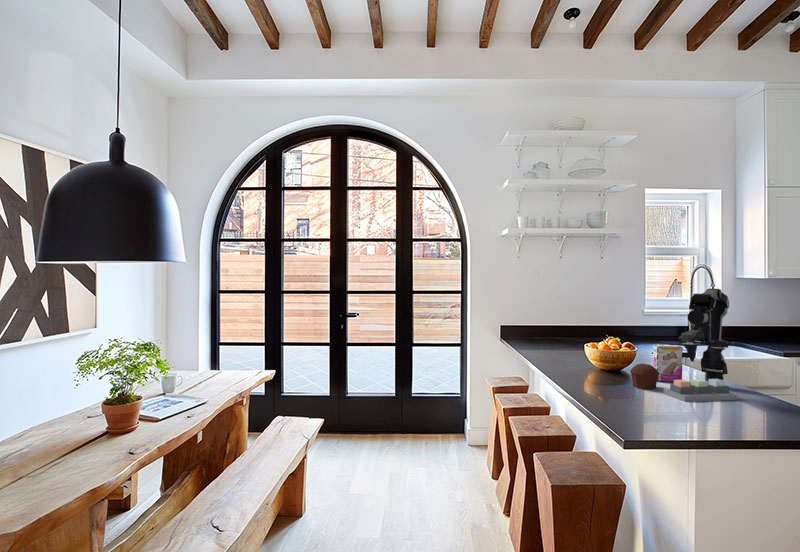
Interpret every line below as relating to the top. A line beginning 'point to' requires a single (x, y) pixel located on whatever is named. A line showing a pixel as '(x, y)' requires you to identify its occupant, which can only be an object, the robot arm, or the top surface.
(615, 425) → the top surface
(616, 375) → the top surface
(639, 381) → the muffin
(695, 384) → the sage button
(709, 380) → the slate button
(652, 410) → the top surface
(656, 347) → the candy bar box
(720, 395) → the button panel
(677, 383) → the terracotta button
